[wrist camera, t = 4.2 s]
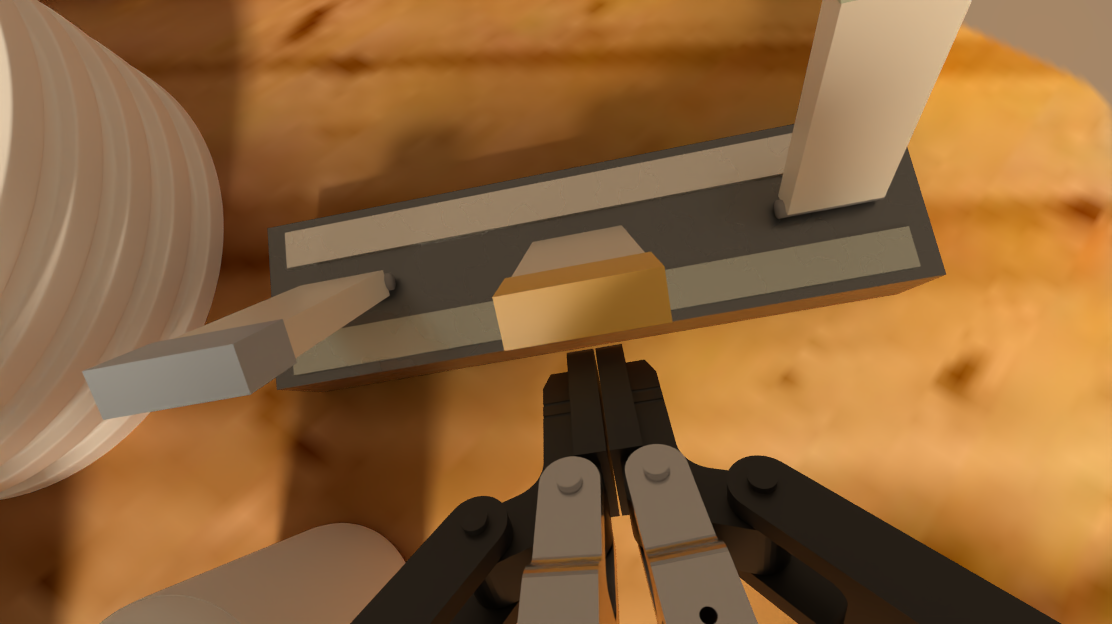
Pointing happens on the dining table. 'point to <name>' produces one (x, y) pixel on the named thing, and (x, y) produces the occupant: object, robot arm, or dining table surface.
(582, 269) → the lever amber
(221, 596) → the pill bottle
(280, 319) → the lever slate
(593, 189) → the switch strip
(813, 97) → the lever sage
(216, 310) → the dining table surface
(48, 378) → the plate stack
